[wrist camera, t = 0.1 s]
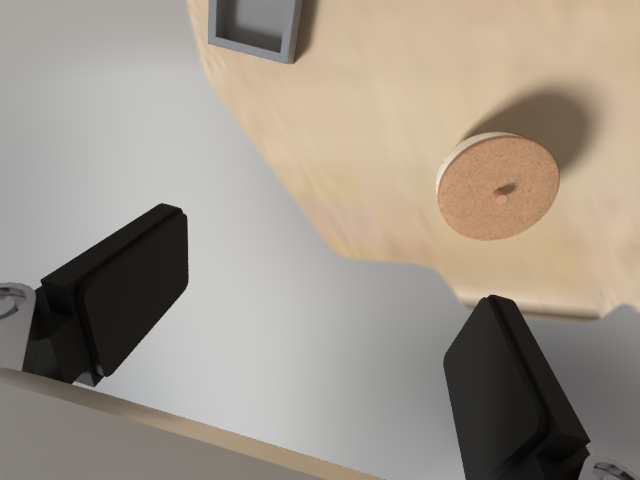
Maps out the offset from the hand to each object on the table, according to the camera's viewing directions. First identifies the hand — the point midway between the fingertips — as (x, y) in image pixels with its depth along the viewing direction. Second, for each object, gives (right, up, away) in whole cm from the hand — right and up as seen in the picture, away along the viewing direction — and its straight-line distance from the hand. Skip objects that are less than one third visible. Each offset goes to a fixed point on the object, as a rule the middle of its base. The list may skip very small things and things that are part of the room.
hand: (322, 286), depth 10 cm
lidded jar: (+19, +10, +27) cm, 34 cm away
